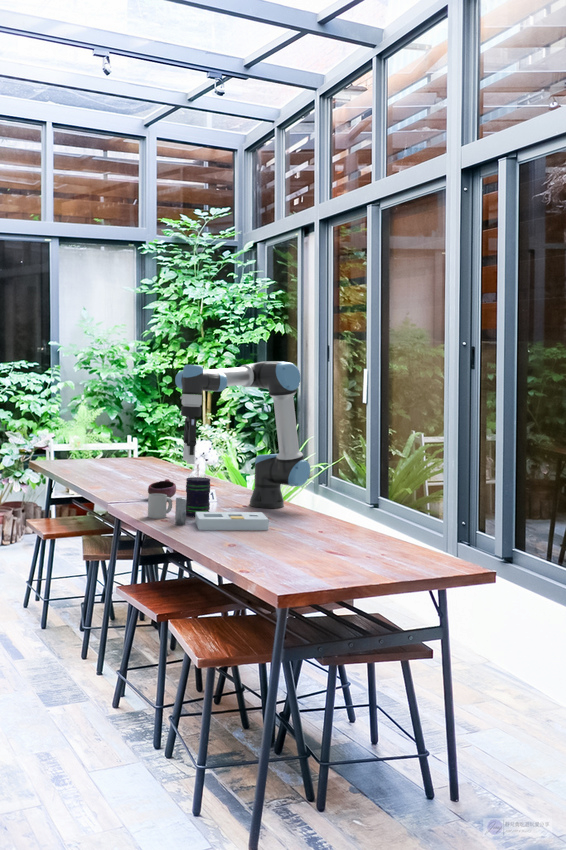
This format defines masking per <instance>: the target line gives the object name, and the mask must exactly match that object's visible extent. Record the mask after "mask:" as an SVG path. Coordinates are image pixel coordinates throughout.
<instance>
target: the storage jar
mask: <svg viewBox="0 0 566 850" xmlns="http://www.w3.org/2000/svg"><path fill="white" fill-rule="evenodd" d="M185 493H186V497H185V498H187V500H186V517H189V518H195V514H196V512H210V508H211V505H210V503H211V502H210V493H211V478H208V477H202V476H201V477H199V476H198V477H197V476H196V477H194V476H193V477H187V478H186V483H185Z"/></svg>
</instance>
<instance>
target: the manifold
mask: <svg viewBox="0 0 566 850" xmlns="http://www.w3.org/2000/svg"><path fill="white" fill-rule="evenodd" d="M194 522H195V525H196V527H197V529H198V530H199V531H269V522H270V519H269V518H268V517H267V516H266V515H265V513H264V512H262V511H255V512H254V511H209V512H196V514H195V517H194Z"/></svg>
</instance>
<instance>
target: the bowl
mask: <svg viewBox="0 0 566 850" xmlns="http://www.w3.org/2000/svg"><path fill="white" fill-rule="evenodd" d="M147 493H148V495H149V494H156V493H157V494H166V495H167V497H169V498H170V499H172V498H173V497H174V496H175V495H176V493H177V485H176V483H174V481H171V480H170V479H167V478H166V479H164V480H160V481H155V482H152V483H151V484H149V485H148V488H147Z"/></svg>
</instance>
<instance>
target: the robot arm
mask: <svg viewBox="0 0 566 850" xmlns="http://www.w3.org/2000/svg"><path fill="white" fill-rule="evenodd" d="M301 378H302V377H301V372H300V370H299V367H297V366H296V365H295V364H294V363H292V362H288V361H260V362H259V361H258V362H253V363H248V364H247V363H246V364H242V365H240V366H239V367H228V368H227V367H226V368H212V369H204V366H203V365H201V364H200V365H199V364H185V365H184V366H183V368H182V370H180V371H179V372H177V374H176V375H175V378H174V379H175V385H176V387H177V388H178V389H179V390H181V396H180V397H179V398H180V400H181V405H182V406H181V407H180V415H181V416H182V417H185V419H184V431H183V432H184V433H183V439H182V441H183V449H182V450H183V452H182V461H186V464H187V465H188V464H189V465H195V460H196V459H195V458H196V446H197V419H196V417H197V418H199V417H201V416H202V407H201V406H202V403H203V392H223V391H224V390H226V388H227V387H236V386H242V388H258V389H265V390H268V395H269V396H270V397H271V398H272V399H273V407H274V415H275V416H274V418H275V425H276V426H275V427H276V433H277V435H276V436H277V442H278V443H277V444H278V453H272V454H271V453H269V454H258V455H256V456H255V460H254V461H255V462H254V484H253V485H254V488H253V490H252V494H251V495H250V499H249V506H251V507H255V508H262V509H278V508H283V507H284V506H285V501H284V497H283V494H282V493H283V492H282V489H281V486H282V485H284V486H288V487H302V486H304V485H305V484H306V483H307V482H308V479H309V478H310V474H311V465H310V463H309V461H307V460H305V459H304V453H303V452H302V451H300V446H299V436H298V431H297V430H298V429H297V428H298V427H297V419H296V411H295V410H296V409H295V401H294V400H295V398H294V397H295V395H296V393H297V389H298V388H299V387H300V383H301V381H302V380H301Z"/></svg>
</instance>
